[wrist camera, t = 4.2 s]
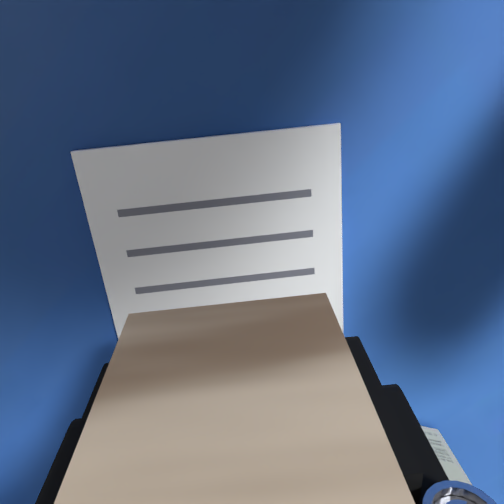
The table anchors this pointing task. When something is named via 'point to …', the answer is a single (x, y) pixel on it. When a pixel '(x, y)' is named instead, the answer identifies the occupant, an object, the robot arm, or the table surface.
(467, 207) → the table surface
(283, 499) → the block
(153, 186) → the letter
